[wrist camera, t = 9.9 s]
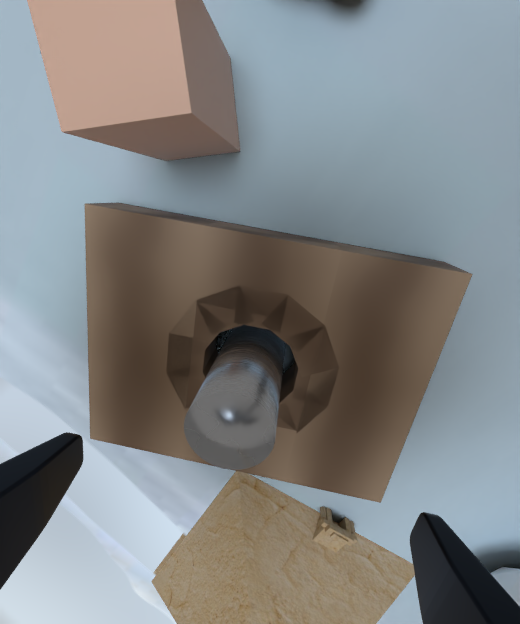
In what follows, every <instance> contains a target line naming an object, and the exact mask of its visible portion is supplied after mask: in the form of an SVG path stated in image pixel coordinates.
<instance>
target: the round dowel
mask: <svg viewBox="0 0 520 624" xmlns="http://www.w3.org/2000/svg"><path fill="white" fill-rule="evenodd" d="M284 354H285V342H284V341H283V340H282V339H280V338H279V337H278V336H277V335H276V334H274V333H273V332H272V331H271V330H268V329H263V328H257V327H252V326H247V325H242V326H239V327H235V328H232V330H231V331H230V333H229V335H228V337H227V339H226V341H225V343H224V344H223V346H222V348H221V350H220V352H219V354H218V356H217V357H216V359H215V361H214V363H213V365H212V367H211V369H210V371H209V372H208V374H207V376H206V378H205V380H204V382H203V384H202V385H201V387H200V389H199V391H198V393H197V395H196V397H195V399H194V400H193V402H192V404H191V406H190V408H189V410H188V412H187V413H186V416H185V420H184V433H185V437H186V439H187V442H188V444H189V445H190V447H191V448H192V450H193V451H194V452H195V453H196V454H197V455H198V456H199V457H200V458H202V459H203V460H205V461H206V462H208V463H210V464H212V465H214V466H217V467H220V468H224V469H231V470H241V469H247V468H250V467H253V466H256V465H258V464H259V463H261V462H262V461H264V460H265V459H266V458H267V457H268V456H269V454H270V453H271V451H272V449H273V447H274V444H275V437H276V428H277V419H278V409H279V400H280V391H281V382H282V372H283V363H284Z"/></svg>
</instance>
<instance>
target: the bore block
mask: <svg viewBox="0 0 520 624" xmlns="http://www.w3.org/2000/svg"><path fill="white" fill-rule="evenodd" d="M85 238H86V279H87V321H88V363H89V404H90V439H94V440H99V441H104V442H108V443H113V444H117V445H122V446H126V447H131V448H135V449H140V450H144V451H149V452H153V453H158V454H162V455H167V456H172V457H176V458H181V459H185V460H190V461H194V462H199V463H203V464H208V465H212V464H210V463H208V462H206V461H205V460H203V459H202V458H200V457H199V456H198V455H197V454H196V453H195V452H194V451H193V450H192V448H191V447H190V445H189V444H188V442H187V439H186V437H185V433H184V420H185V416H186V413H187V412H188V410H189V408H190V406H191V404H192V402H193V400H194V399H195V397H196V395H197V393H198V391H199V389H200V387H201V385H202V384H203V382H204V380H205V378H206V376H207V374H208V372H209V371H210V369H211V367H212V365H213V363H214V361H215V359H216V357H217V356H218V351H217V349H216V342H217V335H218V334H219V333H220V332H223V331H226V330H229V329H232V328H235V327H239V326H242V325H247V326H252V327H257V328H263V329H268V330H271V331H272V332H273V333H274V334H276V335H277V336H278V337H279V338H280V339H282V340H283V341H284V342H285V343H287V344H288V345H289V346H290V347H291V350H292V353H293V355H294V358H295V362H294V364H293V365H292V366H291V367H290V368H289V369H288V370H287V371H286V372H285V373H284V374H283V375H282V382H281V391H280V400H279V409H278V419H277V428H276V437H275V444H274V447H273V449H272V451H271V453H270V454H269V456H268V457H267V458H266V459H265V460H264V461H262V462H261V463H259V464H258V465H256V466H253V467H250V468H247V469H241V470H235V471H240V472H244V473H249V474H253V475H258V476H262V477H267V478H271V479H276V480H280V481H285V482H289V483H294V484H298V485H303V486H308V487H312V488H317V489H321V490H326V491H330V492H335V493H339V494H344V495H348V496H353V497H357V498H362V499H366V500H371V501H376V502H380V503H381V500H382V498H383V495H384V493H385V490H386V488H387V485H388V483H389V480H390V478H391V475H392V473H393V470H394V468H395V465H396V463H397V460H398V458H399V455H400V453H401V450H402V448H403V446H404V443H405V441H406V438H407V436H408V433H409V431H410V428H411V426H412V423H413V421H414V418H415V416H416V413H417V411H418V408H419V406H420V403H421V401H422V398H423V396H424V393H425V391H426V388H427V386H428V383H429V381H430V378H431V376H432V373H433V371H434V368H435V366H436V364H437V361H438V359H439V356H440V354H441V351H442V349H443V346H444V344H445V341H446V339H447V336H448V334H449V331H450V329H451V326H452V324H453V321H454V319H455V316H456V314H457V311H458V309H459V306H460V304H461V301H462V299H463V296H464V294H465V291H466V289H467V286H468V284H469V281H470V279H471V277H472V274H471V273H468V272H466V271H464V270H462V269H459V268H457V267H455V266H452V265H450V264H448V263H446V262H442V261H437V260H431V259H426V258H420V257H415V256H409V255H404V254H398V253H393V252H387V251H382V250H376V249H371V248H365V247H360V246H354V245H349V244H343V243H337V242H332V241H326V240H321V239H315V238H310V237H304V236H299V235H293V234H288V233H282V232H277V231H271V230H266V229H260V228H255V227H249V226H244V225H238V224H233V223H227V222H221V221H216V220H210V219H205V218H199V217H194V216H188V215H183V214H177V213H172V212H166V211H161V210H155V209H150V208H144V207H139V206H133V205H128V204H122V203H90V204H85ZM212 466H214V465H212ZM230 470H231V469H230Z"/></svg>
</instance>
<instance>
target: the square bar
mask: <svg viewBox="0 0 520 624" xmlns="http://www.w3.org/2000/svg"><path fill="white" fill-rule="evenodd" d="M27 1H28V5H29V9H30V12H31V16H32V20H33V24H34V28H35V32H36V35H37V39H38V43H39V47H40V51H41V54H42V58H43V62H44V66H45V70H46V73H47V77H48V81H49V85H50V89H51V92H52V96H53V100H54V104H55V108H56V112H57V115H58V119H59V123H60V127H61V131H62V132H64V133H67V134H71V135H74V136H78V137H82V138H85V139H89V140H92V141H96V142H100V143H103V144H107V145H110V146H114V147H118V148H121V149H125V150H128V151H132V152H136V153H139V154H143V155H146V156H150V157H154V158H157V159H161V160H164V161H170V160H178V159H185V158H193V157H201V156H209V155H217V154H225V153H233V152H240V144H239V134H238V125H237V115H236V106H235V97H234V87H233V78H232V69H231V59H230V56H229V54H228V52H227V50H226V48H225V46H224V44H223V42H222V40H221V38H220V36H219V34H218V32H217V30H216V28H215V26H214V24H213V22H212V20H211V18H210V15H209V13H208V11H207V9H206V7H205V5H204V3H203V1H202V0H27Z"/></svg>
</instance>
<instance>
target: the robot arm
mask: <svg viewBox="0 0 520 624" xmlns="http://www.w3.org/2000/svg"><path fill="white" fill-rule="evenodd" d="M82 462H83V440H82V437H81V436H80V435H77V434H73V433H63V434H61V435H59V436H57V437H55V438H53V439H51V440H49V441H47V442H45V443H42V444H40V445H39V446H36V447H34V448H32V449H30V450H28V451H26V452H24V453H22V454H20V455H18V456H16V457H14V458H12V459H10V460H8V461H5V462H3V463H1V464H0V589H1V588H2V586H3V585H4V584H5V582H6V581H7V580H8V578H9V577H10V575H11V574H12V572H13V571H14V570H15V568H16V567H17V566H18V564H19V563H20V561H21V560H22V559H23V557H24V556H25V555H26V553H27V552H28V550H29V549H30V548H31V546H32V545H33V543H34V542H35V541H36V539H37V538H38V536H39V535H40V533H41V532H42V531H43V529H44V528H45V526H46V525H47V523H48V521H49V520H50V518H51V517H52V515H53V513H54V512H55V510H56V508H57V506H58V505H59V503H60V501H61V500H62V498H63V496H64V495H65V493H66V491H67V490H68V488H69V486H70V485H71V483H72V481H73V479H74V478H75V476H76V474H77V473H78V471H79V469H80V467H81V465H82ZM410 547H411V553H412V559H413V566H414V572H415V579H416V585H417V591H418V598H419V604H420V610H421V615H422V620H423V624H520V606H519V605H518V604H517V603H516V602H515V601H514V599H513V598H512V597H511V596H510V595H509V594H508V593H507V592H506V590H505V589H504V588H503V587H502V586H501V585H500V584H499V582H498V581H497V580H496V579H495V578H494V577H493V576H492V575H491V573H490V572H489V571H488V570H487V569H486V568H485V567H484V565H483V564H482V563H481V562H480V561H479V560H478V559H477V558H476V556H475V555H474V554H473V553H472V552H471V551H470V550H469V549H468V547H467V546H466V545H465V544H464V543H463V542H462V541H461V539H460V538H459V537H458V536H457V535H456V534H455V533H454V532H453V530H452V529H451V528H450V527H449V526H448V525H447V524H446V522H445V521H444V520H443V519H442V518H441V517H439V516H438V515H434V514H430V513H425V512H423V513H421V514H420V515H419V517H418V519H417V521H416V523H415V526H414V528H413V530H412V532H411V535H410Z"/></svg>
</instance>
